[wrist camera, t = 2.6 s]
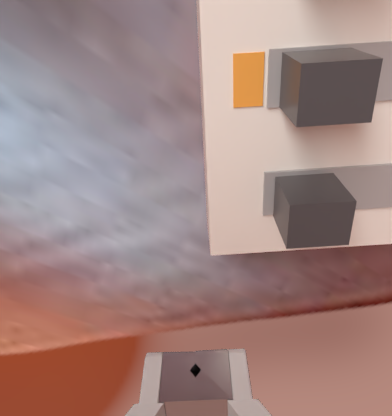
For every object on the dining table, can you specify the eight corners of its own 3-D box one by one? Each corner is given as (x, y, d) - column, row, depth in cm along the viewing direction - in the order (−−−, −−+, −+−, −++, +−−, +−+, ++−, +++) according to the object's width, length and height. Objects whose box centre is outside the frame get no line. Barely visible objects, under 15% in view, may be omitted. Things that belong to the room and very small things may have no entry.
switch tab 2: (273, 216, 20) (286, 248, 18) (275, 176, 19) (289, 205, 17) (327, 212, 20) (348, 244, 18) (333, 172, 19) (356, 201, 17)
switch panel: (206, 220, 26) (210, 257, 22) (187, -182, 16) (188, -234, 12) (423, 206, 26) (463, 241, 22) (542, -205, 16) (650, -264, 12)
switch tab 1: (279, 107, 17) (296, 127, 15) (282, 52, 16) (301, 63, 14) (343, 103, 17) (371, 122, 15) (351, 47, 16) (383, 58, 14)
